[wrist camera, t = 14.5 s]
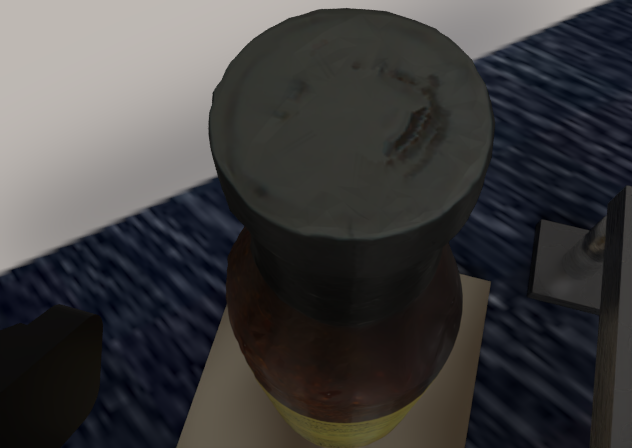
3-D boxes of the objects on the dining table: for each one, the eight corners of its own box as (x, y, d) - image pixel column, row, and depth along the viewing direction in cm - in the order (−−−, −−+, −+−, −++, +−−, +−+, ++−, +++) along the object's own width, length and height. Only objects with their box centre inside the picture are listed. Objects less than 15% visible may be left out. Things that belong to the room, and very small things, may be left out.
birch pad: (486, 286, 28) (490, 281, 27) (443, 554, 23) (447, 556, 23) (257, 228, 30) (255, 222, 29) (173, 469, 25) (168, 469, 24)
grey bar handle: (614, 244, 29) (700, 175, 22) (583, 722, 21) (701, 832, 15) (536, 225, 29) (597, 153, 23) (476, 686, 22) (543, 777, 15)
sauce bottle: (436, 404, 25) (734, 219, 7) (313, 480, 24) (285, 497, 6) (359, 282, 27) (432, -97, 9) (244, 345, 26) (68, 53, 8)
